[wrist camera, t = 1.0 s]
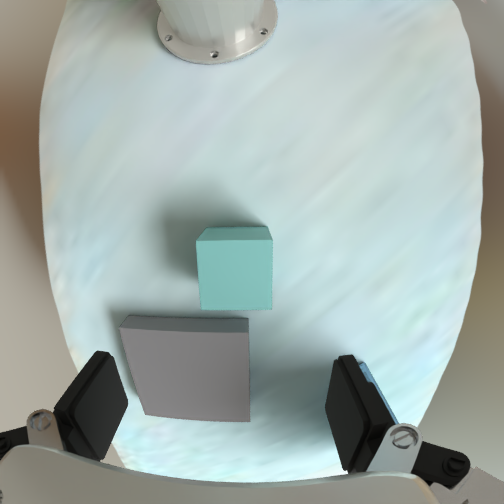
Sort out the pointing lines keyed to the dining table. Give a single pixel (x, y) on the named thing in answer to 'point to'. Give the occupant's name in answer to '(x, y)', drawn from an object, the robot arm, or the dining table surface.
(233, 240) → the teal cube
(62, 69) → the dining table surface
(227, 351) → the gray base
